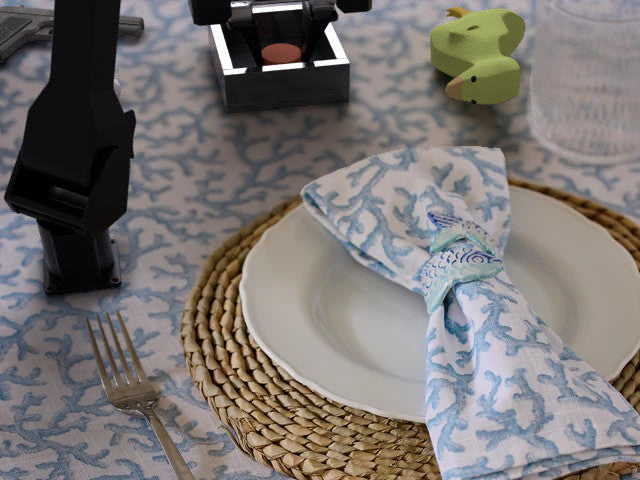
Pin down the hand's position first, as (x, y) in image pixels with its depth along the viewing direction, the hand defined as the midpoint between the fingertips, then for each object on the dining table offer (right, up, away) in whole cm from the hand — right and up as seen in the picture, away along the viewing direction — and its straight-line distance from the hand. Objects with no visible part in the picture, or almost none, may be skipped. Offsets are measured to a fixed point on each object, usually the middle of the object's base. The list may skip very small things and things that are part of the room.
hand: (282, 69), depth 111 cm
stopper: (0, -1, +1) cm, 1 cm away
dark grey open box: (-1, +1, +4) cm, 5 cm away
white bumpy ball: (-19, -4, -1) cm, 19 cm away
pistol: (-28, +2, +3) cm, 28 cm away
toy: (+18, +8, +10) cm, 22 cm away
